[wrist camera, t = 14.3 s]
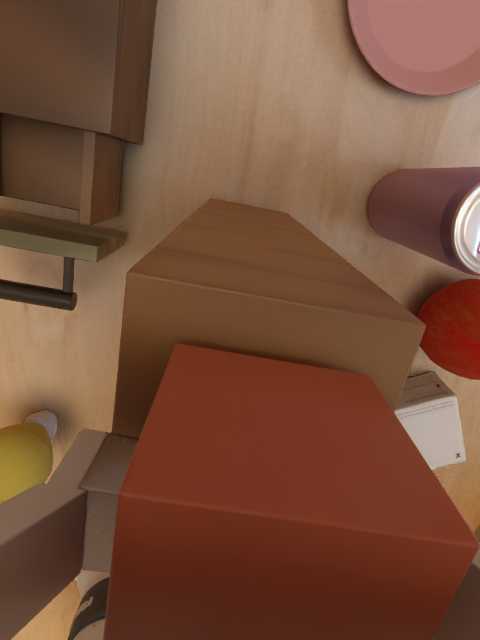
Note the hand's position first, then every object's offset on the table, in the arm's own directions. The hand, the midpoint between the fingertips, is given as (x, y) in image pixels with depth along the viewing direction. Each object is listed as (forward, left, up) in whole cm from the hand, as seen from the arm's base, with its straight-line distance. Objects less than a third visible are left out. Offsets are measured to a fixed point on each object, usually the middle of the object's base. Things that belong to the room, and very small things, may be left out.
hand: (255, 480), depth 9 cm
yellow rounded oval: (-22, +17, -30) cm, 41 cm away
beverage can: (+6, -13, -30) cm, 33 cm away
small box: (-14, -20, -30) cm, 39 cm away
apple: (-3, -20, -30) cm, 36 cm away
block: (0, 0, -1) cm, 1 cm away
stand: (0, 0, -30) cm, 30 cm away
